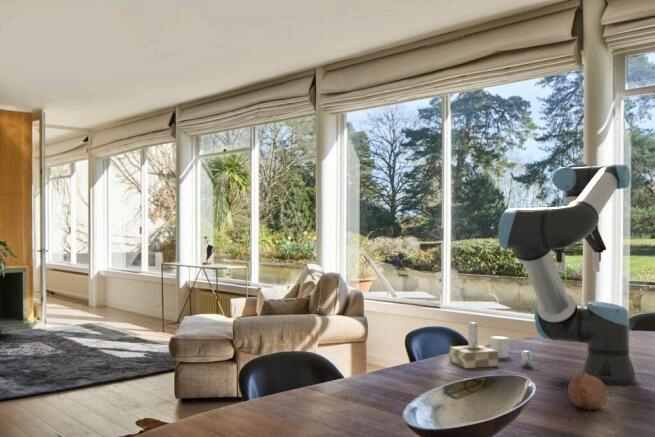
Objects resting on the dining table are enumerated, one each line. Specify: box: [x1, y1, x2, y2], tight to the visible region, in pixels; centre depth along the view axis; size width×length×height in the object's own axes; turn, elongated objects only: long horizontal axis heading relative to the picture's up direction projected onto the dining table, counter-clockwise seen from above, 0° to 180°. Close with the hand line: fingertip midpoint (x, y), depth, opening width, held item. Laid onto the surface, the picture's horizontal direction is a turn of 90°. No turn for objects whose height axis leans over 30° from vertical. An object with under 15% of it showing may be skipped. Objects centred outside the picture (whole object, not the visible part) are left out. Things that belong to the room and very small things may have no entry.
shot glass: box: [489, 335, 510, 359], centre depth 226 cm, size 7×7×7 cm
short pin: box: [520, 350, 532, 368], centre depth 209 cm, size 3×3×5 cm
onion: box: [567, 371, 609, 412], centre depth 160 cm, size 10×9×10 cm
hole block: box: [449, 344, 499, 369], centre depth 214 cm, size 12×12×5 cm
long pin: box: [467, 321, 479, 350], centre depth 214 cm, size 3×3×14 cm
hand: (578, 271), depth 211 cm, fingers open, 13 cm apart
